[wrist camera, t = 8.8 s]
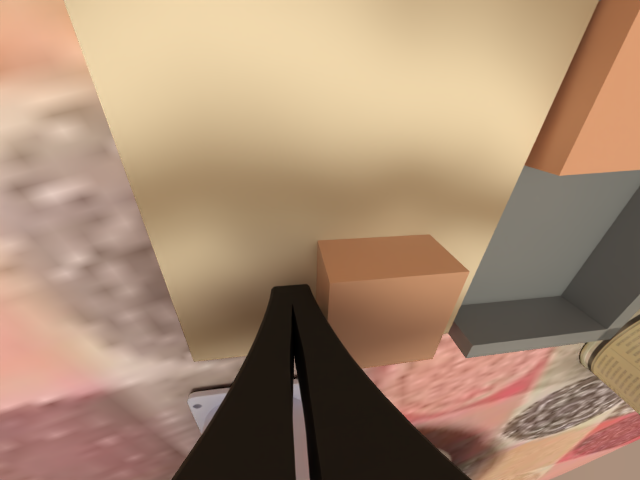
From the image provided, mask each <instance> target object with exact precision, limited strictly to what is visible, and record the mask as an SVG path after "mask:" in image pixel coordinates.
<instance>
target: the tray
mask: <svg viewBox="0 0 640 480" xmlns="http://www.w3.org/2000/svg"><path fill="white" fill-rule="evenodd" d="M599 1H600V0H599ZM639 309H640V170H630V171H617V172H603V173H590V174H577V175H563V176H558V175H555V174H551V173H548V172H545V171H541V170H538V169H535V168H532V167H528V166H525V165H524V167H523V169H522V171H521V174H520V176H519V178H518V180H517V182H516V185H515V187H514V189H513V191H512V193H511V196H510V198H509V200H508V202H507V204H506V207H505V209H504V211H503V213H502V216H501V218H500V220H499V222H498V224H497V227H496V229H495V231H494V233H493V235H492V238H491V240H490V242H489V244H488V246H487V249H486V251H485V253H484V255H483V257H482V260H481V262H480V264H479V266H478V268H477V271H476V273H475V275H474V277H473V279H472V282H471V284H470V286H469V288H468V291H467V293H466V295H465V297H464V299H463V302H462V304H461V306H460V308H459V310H458V313H457V315H456V317H455V319H454V321H453V324H452V326H451V328H450V330H449V332H448V334H449V335H450V336H451V338H452V339H453V341H454V342H455V343H456V345H457V346H458V348H459V349H460V350H461V352H462V353H463V355H464V356H465V357H466V358H471V357H478V356H486V355H494V354H501V353H509V352H517V351H524V350H532V349H540V348H547V347H555V346H563V345H570V344H578V343H586V342H593V341H601V340H609V339H611V338H612V337H613V336H614V335H615V334H616V333H617V332H618V331H619V330H620V329H621V328H622V327H623V326H624V325H625V324H626V323H627V322H628V321H629V320H630V318H631V317H632V316H633V315H634V314H635V313H636V312H637V311H638V310H639Z"/></svg>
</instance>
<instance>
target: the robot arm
mask: <svg viewBox="0 0 640 480" xmlns="http://www.w3.org/2000/svg"><path fill="white" fill-rule="evenodd" d="M294 358H295V364H296V370H297V376H298V379H294ZM187 403H188V405H189V407H190V410H191V412H192V414H193V416H194V419H195V421H196V423H197V425H198V428H199V430H200V432H201V437H200V438H199V440H198V441H197V443H196V444H195V446H194V447H193V449H192V450H191V452H190V453H189V455H188V456H187V458H186V459H185V461H184V462H183V463H182V465H181V466H180V468H179V469H178V471H177V472H176V474H175V475H174V477H173V478H172V480H471V479H470V478H469V477H468V476H467V475H465V474H464V473H463V472H462V471H461V470H460V469H459V468H458V467H457V466H455V465H454V464H453V463H452V462H451V461H450V460H449V459H448V458H447V457H446V456H445V455H443V454H442V453H441V452H440V451H439V450H438V449H437V448H436V447H435V446H434V445H433V444H432V443H431V442H430V441H429V440H428V439H427V438H426V437H424V436H423V435H422V434H421V433H420V432H419V431H418V430H417V429H416V428H415V427H414V426H413V425H412V424H411V423H410V422H409V421H408V420H407V419H406V417H405V416H404V415H403V414H402V413H401V412H400V411H399V410H398V409H397V408H396V407H395V406H394V405H393V404H392V403H391V402H390V401H389V400H388V399H387V398H386V397H385V396H384V395H383V393H382V392H381V391H380V390H379V389H378V388H377V387H376V385H375V384H374V383H373V382H372V381H371V380H370V379H369V377H368V376H367V375H366V374H365V372H364V371H363V370H362V369H361V368H360V366H359V365H358V364H357V363H356V361H355V360H354V359H353V357H352V356H351V355H350V353H349V352H348V351H347V349H346V348H345V347H344V345H343V344H342V342H341V341H340V340H339V338H338V337H337V335H336V334H335V332H334V331H333V329H332V327H331V326H330V324H329V323H328V321H327V320H326V318H325V316H324V315H323V313H322V311H321V309H320V307H319V306H318V304H317V302H316V300H315V298H314V296H313V294H312V291H311V289H310V286H309V285H307V284H299V285H287V286H274V287H273V288H272V289H271V294H270V299H269V302H268V306H267V309H266V312H265V315H264V318H263V320H262V323H261V325H260V328H259V330H258V333H257V335H256V337H255V340H254V342H253V344H252V346H251V348H250V350H249V352H248V355H247V357H246V359H245V361H244V363H243V365H242V367H241V369H240V371H239V373H238V374H237V376H236V378H235V380H234V382H233V384H232V385H231V387H229V388H221V389H213V390H206V391H198V392H193V393H191V394H190V395H189V396H188V400H187Z"/></svg>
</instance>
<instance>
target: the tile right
mask: <svg viewBox="0 0 640 480" xmlns="http://www.w3.org/2000/svg"><path fill="white" fill-rule="evenodd" d="M525 166H528V167H532V168H535V169H538V170H541V171H545V172H548V173H551V174H555V175H558V176H563V175H577V174H590V173H603V172H617V171H630V170H640V0H600V1H599V2H598V4H597V6H596V8H595V10H594V13H593V15H592V17H591V19H590V21H589V24H588V26H587V28H586V30H585V32H584V35H583V37H582V39H581V41H580V43H579V46H578V48H577V50H576V52H575V54H574V57H573V59H572V61H571V63H570V65H569V68H568V70H567V72H566V74H565V77H564V79H563V81H562V83H561V85H560V88H559V90H558V92H557V94H556V96H555V99H554V101H553V103H552V105H551V107H550V110H549V112H548V114H547V116H546V118H545V121H544V123H543V125H542V127H541V129H540V132H539V134H538V136H537V138H536V141H535V143H534V145H533V147H532V149H531V152H530V154H529V156H528V158H527V160H526V163H525Z"/></svg>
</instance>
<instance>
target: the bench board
mask: <svg viewBox="0 0 640 480" xmlns="http://www.w3.org/2000/svg"><path fill="white" fill-rule="evenodd" d="M598 2H599V0H64V3H65V6H66V8H67V11H68V14H69V17H70V19H71V22H72V25H73V28H74V30H75V33H76V36H77V39H78V42H79V44H80V47H81V50H82V53H83V55H84V58H85V61H86V64H87V67H88V69H89V72H90V75H91V78H92V80H93V83H94V86H95V89H96V91H97V94H98V97H99V100H100V103H101V105H102V108H103V111H104V114H105V116H106V119H107V122H108V125H109V128H110V130H111V133H112V136H113V139H114V141H115V144H116V147H117V150H118V153H119V155H120V158H121V161H122V164H123V166H124V169H125V172H126V175H127V177H128V180H129V183H130V186H131V189H132V191H133V194H134V197H135V200H136V202H137V205H138V208H139V211H140V214H141V216H142V219H143V222H144V225H145V227H146V230H147V233H148V236H149V239H150V241H151V244H152V247H153V250H154V252H155V255H156V258H157V261H158V263H159V266H160V269H161V272H162V275H163V277H164V280H165V283H166V286H167V288H168V291H169V294H170V297H171V300H172V302H173V305H174V308H175V311H176V313H177V316H178V319H179V322H180V325H181V327H182V330H183V333H184V336H185V338H186V341H187V344H188V347H189V349H190V352H191V355H192V358H193V361H194V362H196V361H205V360H214V359H223V358H232V357H241V356H247V355H248V352H249V350H250V348H251V346H252V344H253V342H254V340H255V337H256V335H257V333H258V330H259V328H260V325H261V323H262V320H263V318H264V315H265V312H266V309H267V306H268V302H269V299H270V294H271V289H272V288H273V287H274V286H287V285H299V284H307V285H309V286H310V289H311V291H312V294H313V296H314V298H315V300H316V278H317V243H318V241H319V240H336V239H354V238H373V237H391V236H409V235H427V234H430V235H431V236H432V237H433V238H434V239H435V240H436V241H437V242H439V243H440V244H441V245H442V246H443V247H444V248H445V249H446V250H447V251H448V252H449V253H450V254H451V255H453V256H454V257H455V258H456V259H457V260H458V261H459V262H460V263H461V264H462V265H463V266H464V267H465V268H467V269H468V270H469V271H470V272H469V275H468V277H467V279H466V282H465V284H464V286H463V289H462V291H461V293H460V296H459V298H458V300H457V303H456V305H455V307H454V310H453V312H452V314H451V317H450V319H449V321H448V324H447V326H446V328H445V331H444V333H443V334H446V333H448V332H449V330H450V328H451V326H452V324H453V321H454V319H455V317H456V315H457V313H458V310H459V308H460V306H461V304H462V302H463V299H464V297H465V295H466V293H467V291H468V288H469V286H470V284H471V282H472V279H473V277H474V275H475V273H476V271H477V268H478V266H479V264H480V262H481V260H482V257H483V255H484V253H485V251H486V249H487V246H488V244H489V242H490V240H491V238H492V235H493V233H494V231H495V229H496V227H497V224H498V222H499V220H500V218H501V216H502V213H503V211H504V209H505V207H506V204H507V202H508V200H509V198H510V196H511V193H512V191H513V189H514V187H515V185H516V182H517V180H518V178H519V176H520V174H521V171H522V169H523V167H524V165H525V163H526V160H527V158H528V156H529V154H530V152H531V149H532V147H533V145H534V143H535V141H536V138H537V136H538V134H539V132H540V129H541V127H542V125H543V123H544V121H545V118H546V116H547V114H548V112H549V110H550V107H551V105H552V103H553V101H554V99H555V96H556V94H557V92H558V90H559V88H560V85H561V83H562V81H563V79H564V77H565V74H566V72H567V70H568V68H569V65H570V63H571V61H572V59H573V57H574V54H575V52H576V50H577V48H578V46H579V43H580V41H581V39H582V37H583V35H584V32H585V30H586V28H587V26H588V24H589V21H590V19H591V17H592V15H593V13H594V10H595V8H596V6H597V4H598Z"/></svg>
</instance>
